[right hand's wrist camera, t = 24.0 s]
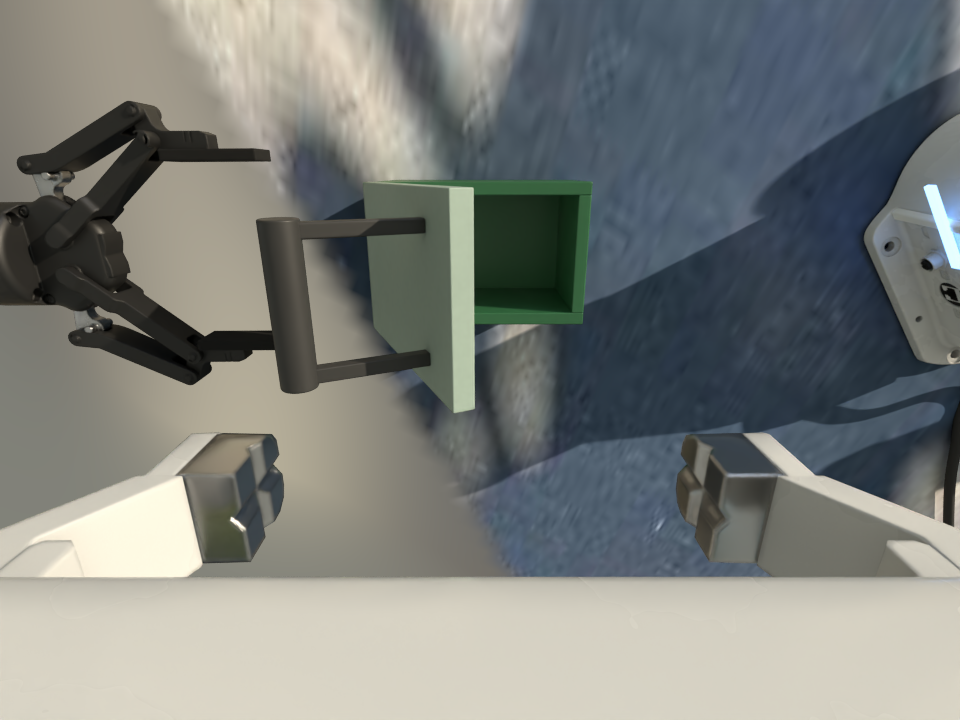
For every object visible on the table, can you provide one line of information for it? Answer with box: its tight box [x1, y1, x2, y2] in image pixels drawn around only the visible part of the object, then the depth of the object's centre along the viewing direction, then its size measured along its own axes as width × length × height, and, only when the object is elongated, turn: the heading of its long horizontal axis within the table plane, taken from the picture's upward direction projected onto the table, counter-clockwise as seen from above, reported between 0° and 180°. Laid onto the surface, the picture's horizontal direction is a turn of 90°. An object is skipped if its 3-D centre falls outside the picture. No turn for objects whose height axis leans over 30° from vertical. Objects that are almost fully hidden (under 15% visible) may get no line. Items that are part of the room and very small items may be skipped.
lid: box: [256, 182, 475, 413], centre depth 27 cm, size 15×10×8 cm
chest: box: [379, 180, 592, 324], centre depth 40 cm, size 15×10×10 cm
